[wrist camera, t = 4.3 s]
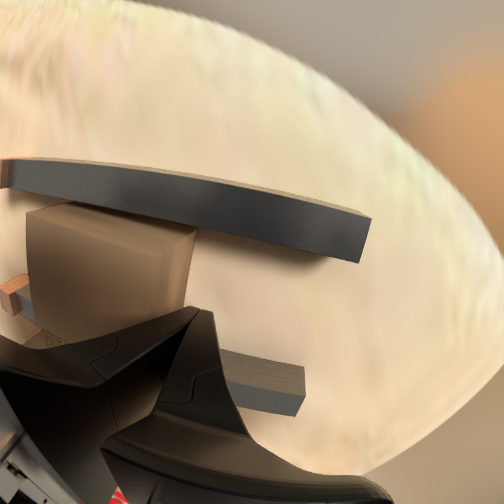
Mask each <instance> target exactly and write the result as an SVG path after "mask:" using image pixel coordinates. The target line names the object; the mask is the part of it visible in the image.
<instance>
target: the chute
mask: <svg viewBox="0 0 504 504" xmlns="http://www.w3.org/2000/svg"><path fill="white" fill-rule="evenodd" d="M3 188H11V189H17V190H22V191H27V192H33V193H38V194H43V195H48V196H53V197H58V198H63V199H68V200H74V201H79V202H84V203H88V204H93V205H98V206H103V207H108V208H113V209H118V210H123V211H127V212H132V213H137V214H142V215H147V216H151V217H156V218H161V219H165V220H170V221H175V222H179V223H184V224H188V225H193V226H198V227H202V228H207V229H211V230H216V231H220V232H225V233H229V234H234V235H238V236H243V237H247V238H252V239H256V240H260V241H265V242H269V243H274V244H278V245H282V246H287V247H291V248H295V249H299V250H304V251H308V252H312V253H317V254H321V255H325V256H329V257H333V258H338V259H342V260H346V261H350V262H354V263H358V264H359V261H360V258H361V255H362V251H363V248H364V245H365V241H366V238H367V234H368V231H369V227H370V223H371V220H372V219H371V218H370V217H368V216H366V215H364V214H362V213H360V212H359V211H357V210H353V209H350V208H346V207H342V206H339V205H335V204H331V203H327V202H323V201H319V200H315V199H311V198H307V197H303V196H299V195H295V194H291V193H286V192H282V191H277V190H273V189H268V188H264V187H259V186H254V185H249V184H244V183H239V182H234V181H229V180H224V179H218V178H213V177H207V176H201V175H195V174H189V173H183V172H177V171H170V170H163V169H156V168H149V167H141V166H133V165H125V164H116V163H106V162H96V161H85V160H72V159H57V158H37V157H15V158H2V159H0V189H3ZM0 302H1V306H2V308H3V309H4V310H5V311H7V312H8V313H9V314H11V315H12V316H13V317H14V316H15V315H17V314H18V313H19V314H21V315H22V316H24V317H25V318H27V319H28V320H30V321H31V322H33V323H35V319H34V313H33V307H32V301H31V294H30V286H29V277H28V276H27V275H25V274H21V275H19V276H17V277H15V278H13V279H11V280H9V281H7V282H5V283H4V284H2V285H0ZM35 324H36V323H35ZM36 325H37V324H36ZM38 326H39V325H38ZM39 327H40V326H39ZM41 328H42V327H41ZM43 329H44V328H43ZM44 330H45V329H44ZM46 331H47V330H46ZM49 333H50V332H49ZM220 353H221V358H222V363H223V368H224V372H225V377H226V380H227V384H228V387H229V390H230V393H231V395H232V398H233V400H234V402H235V405H236V406H239V407H244V408H248V409H253V410H258V411H263V412H269V413H274V414H280V415H286V416H293V417H295V416H296V414H297V412H298V410H299V408H300V406H301V404H302V402H303V400H304V398H305V396H306V391H305V372H304V367H301V366H296V365H290V364H285V363H280V362H275V361H270V360H265V359H261V358H256V357H252V356H247V355H243V354H239V353H235V352H231V351H227V350H223V349H220Z"/></svg>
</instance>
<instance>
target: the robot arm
mask: <svg viewBox="0 0 504 504" xmlns="http://www.w3.org/2000/svg"><path fill="white" fill-rule="evenodd" d="M117 487H119V489H120V490H121V492H122V494H123V496H124V497H125V499H126V500H127V502H128V504H394V502H393V499H392V498H391V496H390V495H389V494H388V493H387V491H386V490H384V489H383V488H382V487H381V486H379V485H378V484H376V483H374V482H372V481H371V480H369V479H367V478H365V477H361V476H355V475H322V474H317V473H312V472H309V471H305V470H302V469H300V468H298V467H296V466H294V465H292V464H290V463H289V462H287V461H285V460H283V459H282V458H280V457H278V456H277V455H275V454H273V453H272V452H270V451H268V450H267V449H265V448H263V447H262V446H260V445H259V444H257V443H256V442H255V441H254V440H253V438H252V437H251V435H250V434H249V432H248V430H247V428H246V426H245V424H244V422H243V420H242V418H241V416H240V413H239V411H238V409H237V407H236V405H235V402H234V400H233V398H232V395H231V393H230V390H229V387H228V384H227V380H226V377H225V372H224V368H223V363H222V358H221V353H220V348H219V342H218V337H217V332H216V326H215V321H214V315H213V312H211V311H207V310H204V309H202V310H200V309H199V308H196V307H193V306H187V307H185V308H182V309H179V310H176V311H173V312H171V313H168V314H165V315H162V316H159V317H156V318H153V319H151V320H148V321H145V322H142V323H139V324H136V325H133V326H130V327H127V328H124V329H121V330H118V331H117V332H112V333H109V334H106V335H103V336H99V337H96V338H92V339H88V340H84V341H80V342H75V343H71V344H66V345H61V346H56V347H51V348H45V349H33V348H28V347H25V346H23V345H20V344H18V343H16V342H14V341H12V340H10V339H8V338H6V337H4V336H2V335H0V504H108V503H109V501H110V500H111V498H112V496H113V494H114V492H115V491H116V489H117Z"/></svg>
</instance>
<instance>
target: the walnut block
mask: <svg viewBox="0 0 504 504" xmlns="http://www.w3.org/2000/svg"><path fill="white" fill-rule="evenodd" d="M196 232H197V229H194V228H190V227H187V226H183V225H179V224H176V223H172V222H168V221H164V220H161V219H157V218H153V217H150V216H146V215H142V214H137V213H132V212H127V211H123V210H118V209H113V208H108V207H103V206H98V205H93V204H88V203H84V202H79V201H74V202H69V203H65V204H60V205H56V206H52V207H47V208H43V209H39V210H35V211H31V212H27V213H26V250H27V266H28V277H29V286H30V294H31V301H32V307H33V313H34V319H35V323H36V324H37V325H39V326H40V327H42V328H44V329H45V330H47V331H48V332H50V333H51V334H53V335H54V336H56V337H58V338H59V339H61V340H63V341H64V342H66V343H68V344H71V343H75V342H80V341H84V340H88V339H92V338H96V337H99V336H103V335H106V334H109V333H112V332H117V331H118V330H121V329H124V328H127V327H130V326H133V325H136V324H139V323H142V322H145V321H148V320H151V319H153V318H156V317H159V316H162V315H165V314H168V313H171V312H173V311H176V310H179V309H182V308H183V305H184V299H185V293H186V287H187V281H188V275H189V269H190V264H191V258H192V253H193V247H194V242H195V237H196Z"/></svg>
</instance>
